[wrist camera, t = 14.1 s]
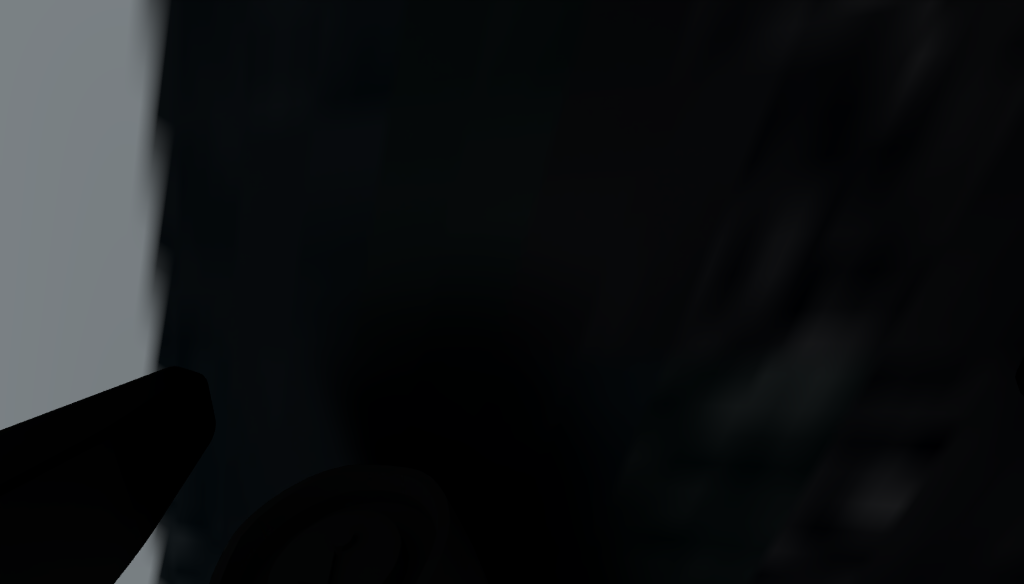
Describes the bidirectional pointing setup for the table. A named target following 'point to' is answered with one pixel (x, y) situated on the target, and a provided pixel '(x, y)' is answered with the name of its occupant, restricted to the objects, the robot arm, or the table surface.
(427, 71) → the table surface
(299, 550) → the dark curved piece
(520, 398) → the table surface
